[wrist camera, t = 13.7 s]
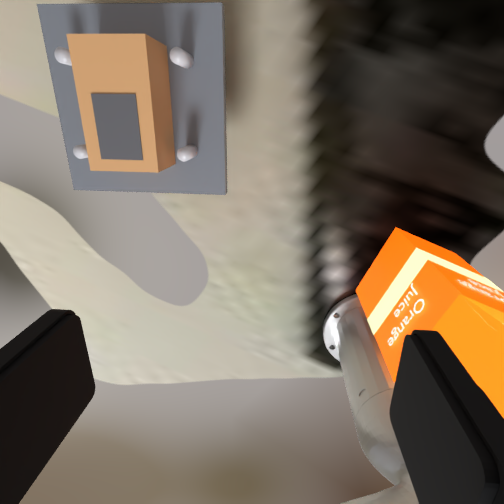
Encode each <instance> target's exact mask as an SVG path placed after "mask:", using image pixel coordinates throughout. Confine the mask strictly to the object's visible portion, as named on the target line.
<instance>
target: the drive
mask: <svg viewBox="0 0 504 504" xmlns="http://www.w3.org/2000/svg"><path fill="white" fill-rule="evenodd" d="M66 35H67V41H68V46H69V52H70V58H71V63H72V69H73V75H74V80H75V86H76V92H77V97H78V103H79V109H80V114H81V120H82V126H83V131H84V137H85V143H86V148H87V154H88V160H89V165H90V171H120V172H155V173H159V172H161V171H163V170H165V169H167V168H169V167H171V166H173V165H175V164H176V161H175V148H174V135H173V122H172V108H171V95H170V82H169V68H168V55H167V46H166V45H164V44H162V43H160V42H159V41H157V40H155V39H153V38H152V37H150V36H148V35H146V34H66Z"/></svg>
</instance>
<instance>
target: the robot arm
mask: <svg viewBox="0 0 504 504" xmlns="http://www.w3.org/2000/svg"><path fill="white" fill-rule="evenodd" d="M323 338H324V342H325V345H326V348H327V349H328V351H329V352H330V354H331V355H332V356H333V357H334V358H336V359H337V360H339V361H340V363H341V368H342V372H343V376H344V380H345V384H346V389H347V393H348V397H349V401H350V406H351V410H352V414H353V418H354V422H355V427H356V431H357V435H358V439H359V442H360V445H361V447H362V449H363V452H364V453H365V455H366V457H367V458H368V460H369V461H370V462H371V463H372V465H373V466H374V467H375V468H376V469H377V470H378V471H379V472H380V473H381V474H382V475H383V476H385V477H386V478H387V479H388V480H389V481H390V482H392V483H393V484H394V485H395V486H394V487H391V488H388V489H385V490H382V491H380V492H379V493H375V494H372V495H368V496H365V497H361V498H358V499H354V500H351V501H348V502H344V503H340V504H504V418H503V417H502V415H501V414H500V413H499V411H498V410H497V409H496V407H495V406H494V404H493V403H492V402H491V400H490V399H489V398H488V396H487V395H486V393H485V392H484V391H483V390H482V389H481V388H480V387H479V386H478V385H477V384H476V383H475V381H474V380H473V378H472V377H471V376H470V374H469V373H468V371H467V370H466V369H465V367H464V366H463V365H462V363H461V362H460V360H459V359H458V358H457V356H456V355H455V354H454V352H453V351H452V349H451V348H450V347H449V345H448V344H447V342H446V341H445V340H444V338H443V337H442V336H441V334H440V333H439V332H438V331H434V330H416V329H415V330H413V331H412V333H411V335H409V334H407V335H406V336H405V338H404V342H403V347H402V351H401V356H400V361H399V366H398V371H397V375H396V380H395V382H393V380H392V377H391V374H390V372H389V370H388V367H387V365H386V362H385V360H384V358H383V355H382V353H381V350H380V348H379V345H378V343H377V341H376V338H375V336H374V335H373V333H372V330H371V328H370V325H369V323H368V321H367V317H366V314H365V312H364V309H363V307H362V305H361V302H360V300H359V297H358V295H357V294H355V295H352V296H349V297H347V298H345V299H343V300H342V301H340V302H338V303H337V304H336V305H335V306H334V307H333V308H332V309H331V310H330V312H329V313H328V314H327V316H326V318H325V321H324V325H323ZM94 392H95V383H94V378H93V374H92V369H91V365H90V360H89V356H88V351H87V347H86V342H85V338H84V334H83V329H82V325H81V320H80V318H79V317H78V316H77V315H75V313H74V312H73V311H71V310H60V309H51V310H49V311H47V312H46V313H45V314H44V315H42V316H41V317H40V318H39V319H38V320H36V321H35V322H34V323H32V324H31V325H30V326H29V327H27V328H26V329H25V330H24V331H22V332H21V333H20V334H19V335H17V336H16V337H15V338H14V339H12V340H11V341H10V342H9V343H7V344H6V345H5V346H4V347H2V348H1V349H0V504H19V502H20V501H21V499H22V498H23V497H24V495H25V494H26V492H27V491H28V490H29V488H30V487H31V485H32V484H33V482H34V481H35V480H36V478H37V476H38V475H39V474H40V472H41V471H42V470H43V468H44V467H45V465H46V464H47V462H48V461H49V459H50V458H51V457H52V455H53V454H54V452H55V451H56V449H57V448H58V447H59V445H60V444H61V442H62V441H63V439H64V438H65V437H66V435H67V434H68V432H69V431H70V429H71V428H72V426H73V425H74V423H75V422H76V421H77V419H78V418H79V416H80V415H81V414H82V412H83V411H84V409H85V408H86V407H87V405H88V403H89V402H90V401H91V399H92V398H93V395H94Z"/></svg>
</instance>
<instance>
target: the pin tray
mask: <svg viewBox="0 0 504 504" xmlns="http://www.w3.org/2000/svg"><path fill="white" fill-rule="evenodd" d="M37 7H38V12H39V17H40V22H41V27H42V32H43V37H44V42H45V47H46V52H47V57H48V62H49V67H50V72H51V77H52V82H53V87H54V92H55V97H56V102H57V107H58V112H59V117H60V122H61V127H62V132H63V137H64V142H65V147H66V152H67V157H68V162H69V167H70V172H71V177H72V182H73V187H74V190H94V191H96V190H97V191H127V192H128V191H129V192H155V193H186V194H216V195H226V193H227V145H226V82H225V20H224V5H223V4H222V3H106V4H37ZM66 34H146V35H148V36H150V37H152V38H153V39H155V40H157V41H159V42H160V43H162V44H164V45H166V46H167V55H168V68H169V82H170V95H171V108H172V122H173V135H174V148H175V161H176V164H175V165H173V166H171V167H169V168H167V169H165V170H163V171H161V172H159V173H155V172H120V171H90V165H89V160H88V154H87V148H86V143H85V137H84V131H83V126H82V120H81V114H80V109H79V103H78V97H77V92H76V86H75V80H74V75H73V69H72V63H71V58H70V52H69V46H68V41H67V35H66Z"/></svg>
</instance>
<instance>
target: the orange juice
mask: <svg viewBox="0 0 504 504" xmlns="http://www.w3.org/2000/svg"><path fill="white" fill-rule="evenodd" d="M356 293H357V295H358V297H359V300H360V302H361V305H362V307H363V309H364V312H365V314H366V317H367V321H368V323H369V325H370V328H371V330H372V333H373V335H374V336H375V338H376V341H377V343H378V345H379V348H380V350H381V353H382V355H383V358H384V360H385V362H386V365H387V367H388V370H389V372H390V374H391V377H392V380H393V382H395V380H396V375H397V371H398V366H399V361H400V356H401V351H402V347H403V342H404V338H405V336H406V335H407V334H409V335H411V333H412V331H413V330H415V329H416V330H434V331H438V332H439V333H440V334H441V336H442V337H443V338H444V340H445V341H446V342H447V344H448V345H449V347H450V348H451V349H452V351H453V352H454V354H455V355H456V356H457V358H458V359H459V360H460V362H461V363H462V365H463V366H464V367H465V369H466V370H467V371H468V373H469V374H470V376H471V377H472V378H473V380H474V381H475V383H476V384H477V385H478V386H479V387H480V388H481V389H482V390H483V391H484V392H485V393H486V395H487V396H488V398H489V399H490V400H491V402H492V403H493V404H494V406H495V407H496V409H497V410H498V411H499V413H500V414H501V415H502V417H503V418H504V292H503V291H502V290H501V289H500V288H498V287H497V286H496V285H495V284H493V283H492V282H491V281H490V280H488V279H487V278H485V277H484V276H483V275H481V274H480V273H479V272H478V271H476V270H475V269H474V268H473V267H472V266H470V265H469V264H468V263H467V262H465V261H464V260H463V259H462V258H460V257H459V256H458V255H457V254H456V253H453V252H451V251H449V250H447V249H444V248H442V247H440V246H437V245H435V244H433V243H431V242H428V241H426V240H424V239H421V238H419V237H417V236H415V235H412V234H410V233H408V232H405V231H403V230H401V229H399V228H396V227H395V229H394V231H393V232H392V234H391V235H390V237H389V238H388V240H387V242H386V243H385V245H384V246H383V248H382V249H381V251H380V253H379V254H378V256H377V257H376V259H375V260H374V262H373V264H372V265H371V267H370V268H369V270H368V271H367V273H366V275H365V276H364V278H363V279H362V281H361V282H360V284H359V286H358V287H357V289H356Z"/></svg>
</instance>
